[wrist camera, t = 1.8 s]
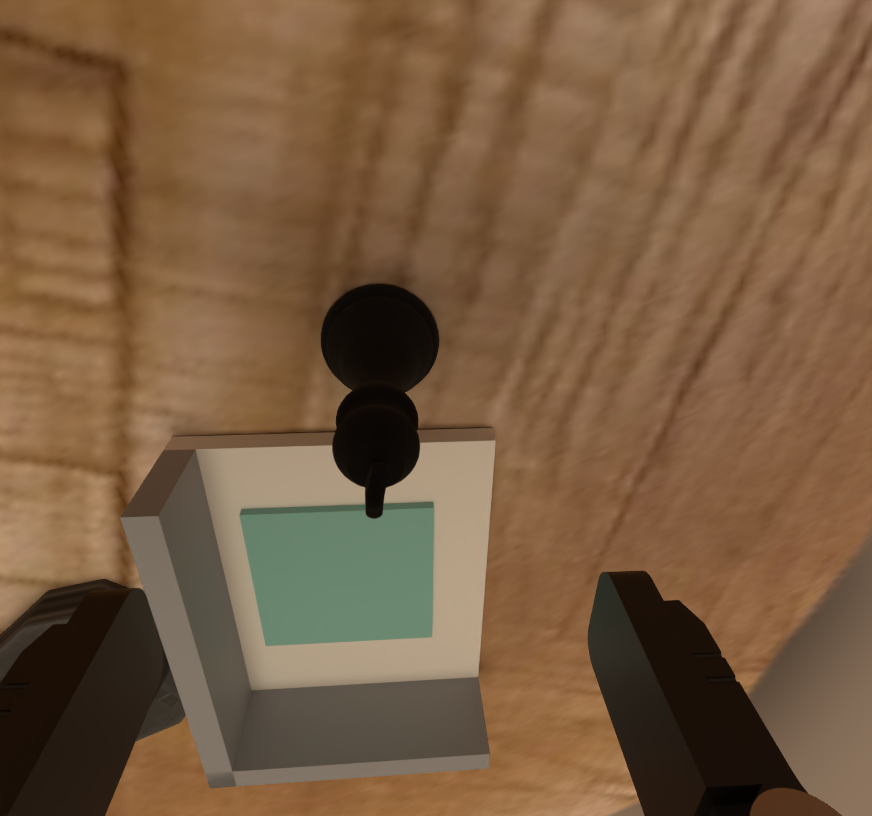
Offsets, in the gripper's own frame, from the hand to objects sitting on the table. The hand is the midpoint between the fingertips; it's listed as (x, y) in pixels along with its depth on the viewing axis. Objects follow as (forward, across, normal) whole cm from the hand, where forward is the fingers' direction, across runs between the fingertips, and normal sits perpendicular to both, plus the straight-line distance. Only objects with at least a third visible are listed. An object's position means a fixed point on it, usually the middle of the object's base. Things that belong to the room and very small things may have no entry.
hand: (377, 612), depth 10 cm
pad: (+12, +2, +11) cm, 16 cm away
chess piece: (+13, 0, 0) cm, 13 cm away
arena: (+13, +2, +12) cm, 18 cm away
